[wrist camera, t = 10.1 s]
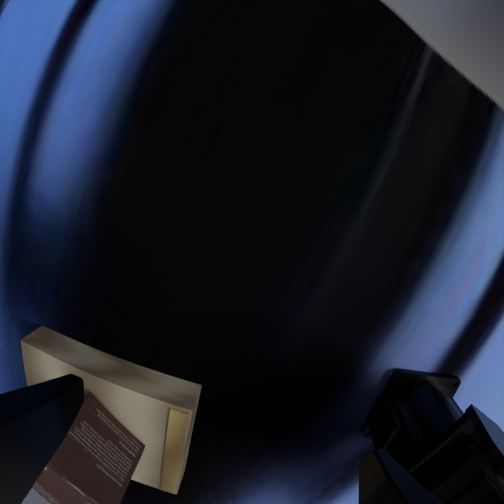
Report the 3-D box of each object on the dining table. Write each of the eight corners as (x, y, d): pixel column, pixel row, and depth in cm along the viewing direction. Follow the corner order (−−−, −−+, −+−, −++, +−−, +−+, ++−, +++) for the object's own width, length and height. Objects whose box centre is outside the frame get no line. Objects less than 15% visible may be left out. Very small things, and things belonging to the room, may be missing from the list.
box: (54, 410, 20) (7, 464, 13) (91, 388, 19) (36, 452, 12) (105, 461, 21) (70, 521, 14) (149, 446, 20) (114, 519, 13)
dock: (201, 385, 21) (191, 412, 18) (184, 471, 24) (176, 496, 21) (42, 325, 22) (19, 341, 19) (53, 417, 24) (37, 435, 21)
